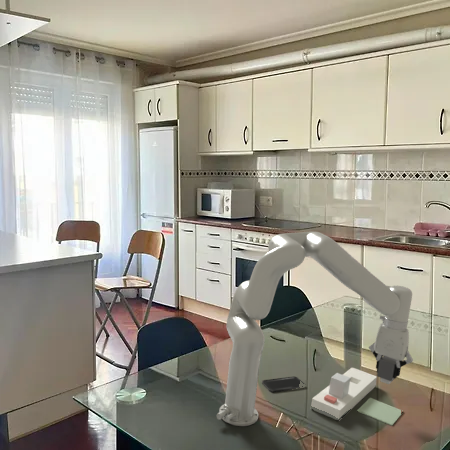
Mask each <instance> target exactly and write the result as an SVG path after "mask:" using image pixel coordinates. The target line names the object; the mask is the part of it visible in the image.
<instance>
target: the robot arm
mask: <svg viewBox="0 0 450 450" xmlns="http://www.w3.org/2000/svg"><path fill="white" fill-rule="evenodd" d="M267 246H268V247H267V249H268V251H267V252H266V253H265V254H264V255H262V257H260V258H259V259H258V260H257V262H256V263H255V265H254V268H253V270H252V271H251V272H252V273H251V275H250V278H249V280H245V281H243V282H242V283H240V284H239V286H237V288H236V290H235V292H234V295H233V298H232V301H231V304H230V309H229V310H228V311H229V312H228V315H227V320H226V330H227V333H228V335H229V337H230V340H231V341H232V350H231V352H230V356H229V363H228V373H227V382H226V390H225V400H224V404H222V405H221V406H220V407H219V409H218V410H219V411H218V413H217V414H216V419H217V420H220V421H221V420H223V421H224V422H225V423H227V424H229V425H232V426H237V427H238V426H239V427H247V426H251V425H253V424H255V423H256V422H257V421H258V419H259V412H258V410H257V409H256V405H255V404H256V399H257V391H258V388H257V387H258V381H259V375H260V374H259V372H260V363H261V359H262V354H263V351H264V347H265V342H266V341H265V335H264V331H263V330H262V328H261V326H260V325H259V323H258V322H257V321H260V320H263V319H265V318H266V317H267V316H268V314H269V313H270V311H271V308H272V305H273V301H274V297H275V294H276V291H277V288H278V285H279V283H280V281H281V278H282V277H283V275H285V274H286V273H287V272H289V271H290V270H293V269H295V268H297V267H299V266H301V264H302V263H304V261H305V259H306V257H310V258H312V259H313V260H314V261H315V262H317V263H318V264H319V265H320V266H322V267H323V268H324V269H325V271H327V272H328V273H329V274H331V276H333V277H334V278H335V279H336V280H337V281H339V282H340V283H341V284H342V285H344V286H345V287H346V288H348V289H350V290H351V291H353V292H354V293H355V294H357V295H359V296H360V297H361V298H362V299H363V301H364V302H365V303H366V304H367V305H368V306H370V307H371V308H372V309H374V310H375V311H377V312H379V313H380V314H381V315H380V316H379V320H380V321H382V323H380V324H379V327H378V330H377V333H376V337H375V342H374V343H372V344H370V345H369V346H368V349H369V351H371V353H372V355H373V356H374V358H375V360H376V364H375V369H376V373H378V367H379V361H380V359H381V358H382V357H383V356H386V357H389V358H392V359H395V360H396V367H395V369H394V376H393V378H394V380H395V379H396V378H398V377H400V374H401V368H402V367H403V366H405V365H408V364H411V363H413V362H414V358H413V357H412V355H411V354H410V351H409V345H410V344H409V343H410V335H409V334H410V331H409V329H408V324H409V316H410V310H411V306H412V300H413V291H412V290H411V289H410V288H408V287H406V286H402V285H392V286H391V285H386V284H385V283H384V282H382V281H381V280H380V279H379V278H378V277H376V276H375V275H374V274H373V273H371V271H369V269H367V268H366V267H365V266H364V265H363V264H361V263H360V262H359V261H358V260H357V259H356V258H355V257H354V256H352V255H351V254H350V253H349V252H348V251H347V250H345V249H344V248H343V247H342V246H341V245H340V244H339V243H338V242H336V241H335V240H334V239H333V238H331V237H330V236H328V235H326V234H324V233H322V232H319V231H301V232H286V233H279V234H276V235H274V236H272V238H271V239H270V240H269V242H268V245H267ZM405 358H406V359H405Z"/></svg>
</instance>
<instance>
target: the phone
mask: <svg viewBox="0 0 450 450" xmlns="http://www.w3.org/2000/svg"><path fill="white" fill-rule="evenodd" d="M300 381H301V382H302V383H303V384H305V382H303V381H302V380H301V379H299V377H298V376H286V377H278V378H270V379H269V378H268V379H264V380H262V382H261V384H262V385H263V386H264V387H265V388H266V389H267V391H268V392H270V393H274V394H275V393H280V392H287V391H288V390H289V391H293V390H292V389H296V388H300V387H299V384H300ZM302 387H303V386H302ZM296 390H297V389H296Z"/></svg>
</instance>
